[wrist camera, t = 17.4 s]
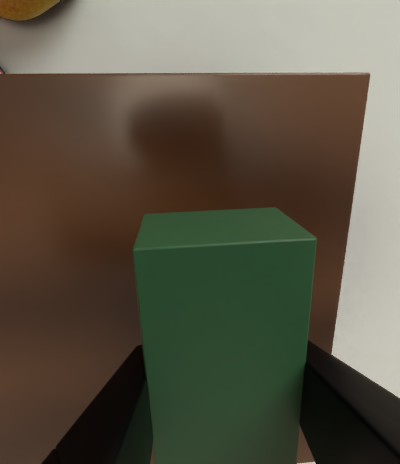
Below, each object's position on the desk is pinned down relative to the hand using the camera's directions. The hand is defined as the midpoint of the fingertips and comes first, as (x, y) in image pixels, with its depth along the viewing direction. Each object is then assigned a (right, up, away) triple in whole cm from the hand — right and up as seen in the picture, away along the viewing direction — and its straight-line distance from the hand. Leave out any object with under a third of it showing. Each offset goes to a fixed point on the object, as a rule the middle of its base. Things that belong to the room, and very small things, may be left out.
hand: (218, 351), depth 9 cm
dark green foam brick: (0, 0, +1) cm, 1 cm away
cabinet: (-3, +3, +12) cm, 12 cm away
